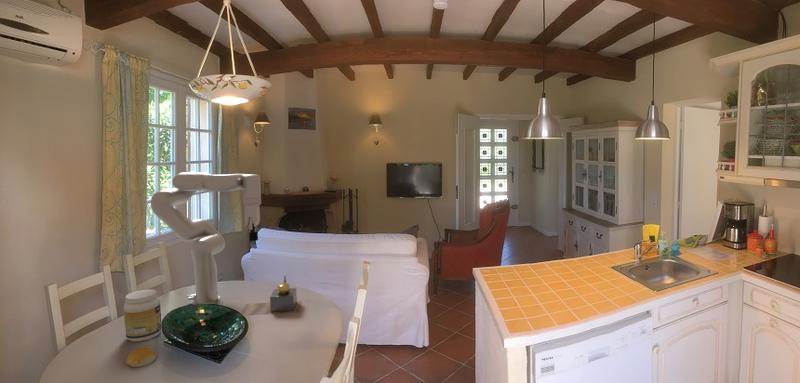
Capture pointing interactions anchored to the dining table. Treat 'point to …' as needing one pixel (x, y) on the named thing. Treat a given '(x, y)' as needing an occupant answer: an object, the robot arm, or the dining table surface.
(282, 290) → the brass pin
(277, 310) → the hitch block
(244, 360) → the dining table surface
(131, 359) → the bread roll
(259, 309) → the mount plate
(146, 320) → the supplement tub
